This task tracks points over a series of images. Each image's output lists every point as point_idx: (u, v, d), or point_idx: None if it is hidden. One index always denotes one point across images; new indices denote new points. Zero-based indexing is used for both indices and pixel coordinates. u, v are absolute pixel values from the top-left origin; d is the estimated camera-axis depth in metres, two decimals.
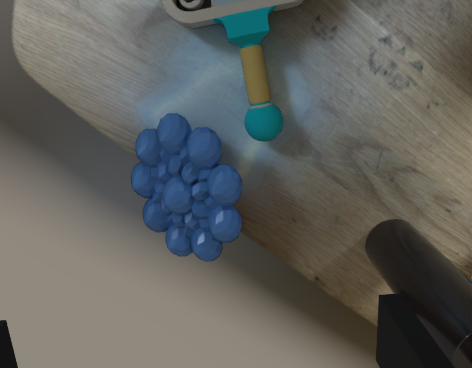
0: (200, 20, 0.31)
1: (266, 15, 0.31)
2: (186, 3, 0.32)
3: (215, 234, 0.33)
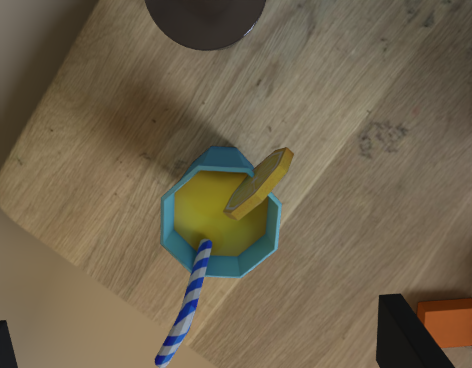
0: None
1: None
2: None
3: None
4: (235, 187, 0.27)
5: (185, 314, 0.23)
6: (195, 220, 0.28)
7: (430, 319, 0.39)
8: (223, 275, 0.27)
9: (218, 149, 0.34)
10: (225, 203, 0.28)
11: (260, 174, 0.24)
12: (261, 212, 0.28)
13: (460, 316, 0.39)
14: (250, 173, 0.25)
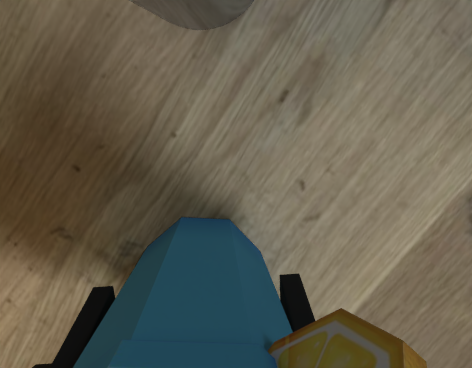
0: None
1: None
2: None
3: None
4: None
5: None
6: None
7: None
8: None
9: (193, 230, 0.17)
10: None
11: None
12: None
13: None
14: None
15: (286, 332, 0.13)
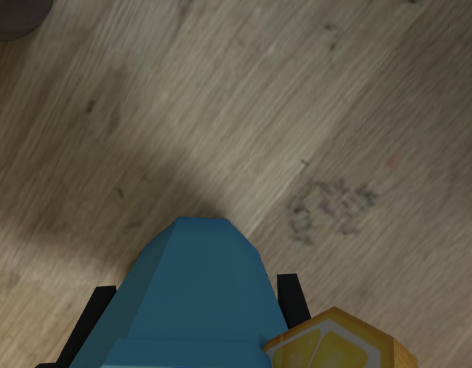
0: None
1: None
2: None
3: None
4: None
5: None
6: None
7: None
8: None
9: (191, 230, 0.17)
10: None
11: None
12: None
13: None
14: None
15: (282, 331, 0.13)
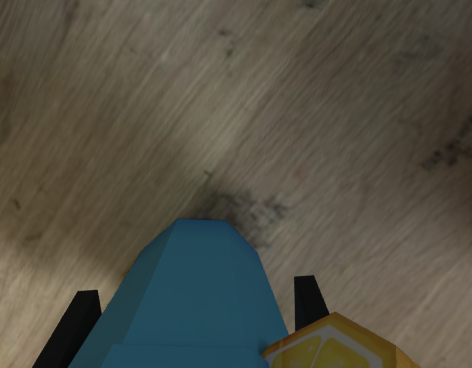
0: None
1: None
2: None
3: None
4: None
5: None
6: None
7: None
8: None
9: (189, 232, 0.17)
10: None
11: None
12: None
13: None
14: None
15: (282, 335, 0.13)
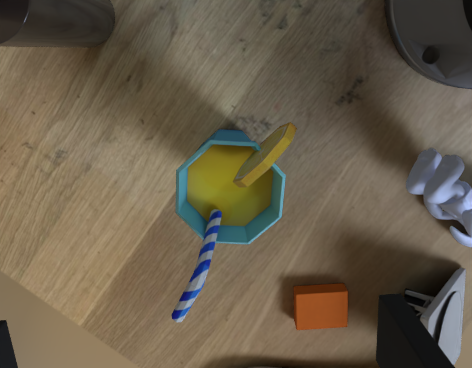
0: None
1: None
2: None
3: None
4: (243, 162, 0.30)
5: (200, 272, 0.26)
6: (206, 192, 0.31)
7: (301, 302, 0.42)
8: (232, 241, 0.30)
9: (225, 131, 0.36)
10: (234, 176, 0.30)
11: (266, 147, 0.27)
12: (267, 185, 0.31)
13: (329, 299, 0.42)
14: (257, 147, 0.28)
15: None
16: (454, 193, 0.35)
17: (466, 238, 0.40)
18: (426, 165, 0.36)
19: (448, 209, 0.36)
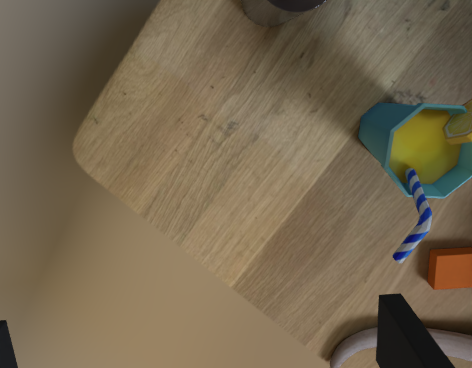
0: None
1: None
2: None
3: None
4: (438, 125, 0.34)
5: (427, 216, 0.30)
6: (402, 153, 0.34)
7: (440, 263, 0.45)
8: (431, 195, 0.33)
9: (391, 103, 0.40)
10: (428, 138, 0.34)
11: None
12: (456, 146, 0.34)
13: (466, 260, 0.45)
14: (465, 109, 0.32)
15: None
16: None
17: None
18: None
19: None
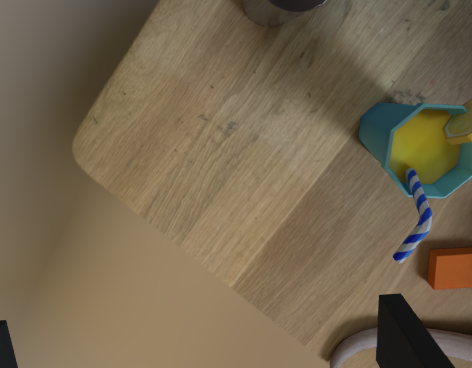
0: None
1: None
2: None
3: None
4: (438, 125, 0.34)
5: (428, 216, 0.30)
6: (402, 153, 0.34)
7: (440, 263, 0.45)
8: (431, 195, 0.33)
9: (390, 103, 0.40)
10: (428, 138, 0.34)
11: None
12: (456, 146, 0.34)
13: (466, 260, 0.45)
14: (465, 109, 0.31)
15: None
16: None
17: None
18: None
19: None
